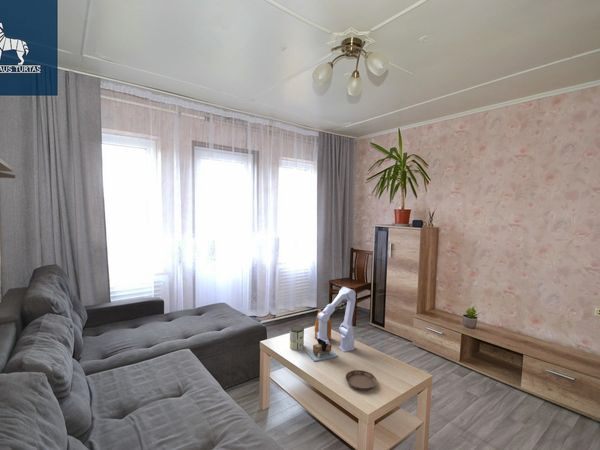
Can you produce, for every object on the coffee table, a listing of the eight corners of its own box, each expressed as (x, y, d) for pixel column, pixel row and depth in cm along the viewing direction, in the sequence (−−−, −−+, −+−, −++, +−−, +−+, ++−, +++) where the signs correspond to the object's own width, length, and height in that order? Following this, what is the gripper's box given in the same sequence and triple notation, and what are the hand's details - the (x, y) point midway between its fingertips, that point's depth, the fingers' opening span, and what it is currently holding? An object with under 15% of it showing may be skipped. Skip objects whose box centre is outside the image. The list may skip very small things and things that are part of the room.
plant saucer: (339, 383, 161) (339, 378, 161) (355, 371, 174) (355, 366, 174) (367, 397, 149) (367, 392, 149) (382, 383, 162) (382, 377, 162)
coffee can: (293, 342, 210) (293, 324, 209) (305, 345, 205) (306, 326, 205) (287, 348, 200) (287, 329, 200) (300, 351, 196) (300, 332, 195)
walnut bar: (328, 348, 196) (328, 341, 196) (331, 351, 193) (331, 344, 192) (313, 351, 191) (313, 344, 191) (315, 354, 188) (315, 347, 188)
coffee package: (321, 334, 225) (322, 307, 224) (332, 339, 216) (333, 311, 215) (312, 337, 219) (313, 309, 218) (323, 343, 209) (324, 314, 208)
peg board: (329, 348, 201) (329, 344, 201) (338, 356, 190) (338, 351, 190) (306, 353, 194) (306, 348, 194) (314, 362, 183) (314, 356, 183)
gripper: (312, 326, 196) (312, 345, 197) (322, 335, 183) (322, 355, 184) (321, 325, 199) (321, 344, 200) (332, 333, 186) (331, 353, 187)
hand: (322, 349), depth 192 cm, fingers closed on walnut bar, 4 cm apart
